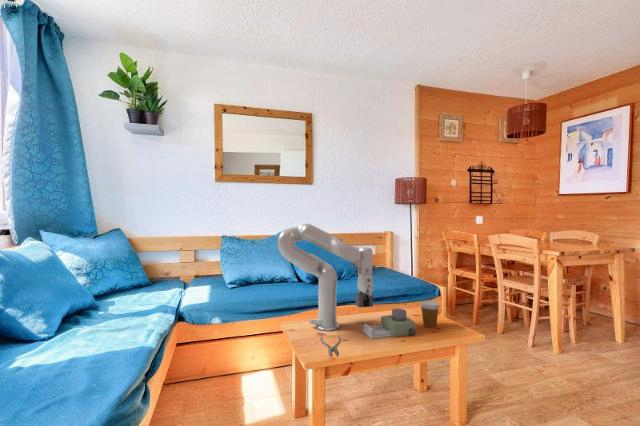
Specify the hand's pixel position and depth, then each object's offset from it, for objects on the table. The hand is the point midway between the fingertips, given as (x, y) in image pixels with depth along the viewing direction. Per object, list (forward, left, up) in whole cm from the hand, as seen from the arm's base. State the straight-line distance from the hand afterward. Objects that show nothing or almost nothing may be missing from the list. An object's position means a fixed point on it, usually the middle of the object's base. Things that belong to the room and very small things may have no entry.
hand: (364, 304), depth 159 cm
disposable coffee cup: (+33, -11, -11) cm, 36 cm away
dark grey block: (0, 0, -1) cm, 1 cm away
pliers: (-23, -18, -12) cm, 32 cm away
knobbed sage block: (+7, -12, -11) cm, 18 cm away
